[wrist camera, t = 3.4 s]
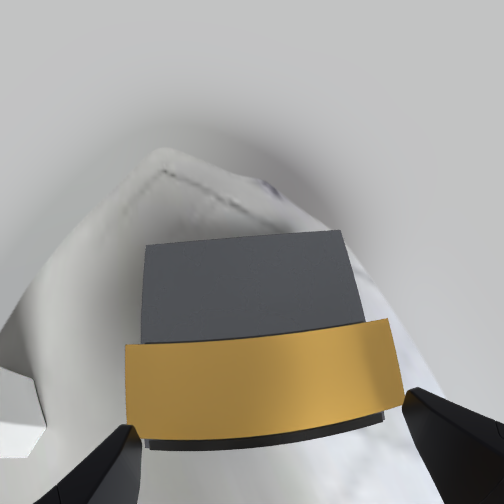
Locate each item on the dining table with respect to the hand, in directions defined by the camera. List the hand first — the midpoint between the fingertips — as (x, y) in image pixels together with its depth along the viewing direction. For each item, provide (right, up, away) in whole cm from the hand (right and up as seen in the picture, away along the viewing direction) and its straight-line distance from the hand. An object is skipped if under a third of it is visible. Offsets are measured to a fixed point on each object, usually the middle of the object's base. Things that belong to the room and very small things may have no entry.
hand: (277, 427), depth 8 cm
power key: (0, -1, +4) cm, 5 cm away
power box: (-1, -2, +13) cm, 14 cm away
